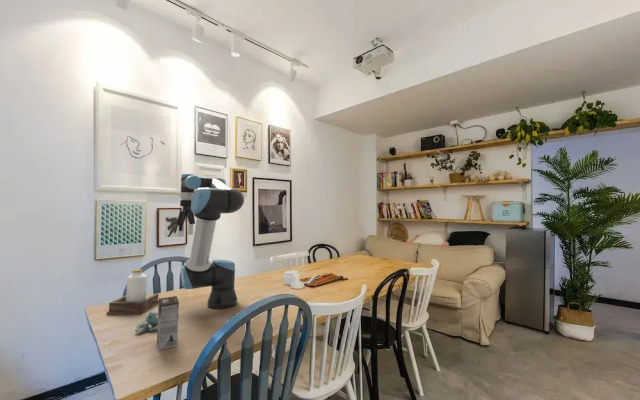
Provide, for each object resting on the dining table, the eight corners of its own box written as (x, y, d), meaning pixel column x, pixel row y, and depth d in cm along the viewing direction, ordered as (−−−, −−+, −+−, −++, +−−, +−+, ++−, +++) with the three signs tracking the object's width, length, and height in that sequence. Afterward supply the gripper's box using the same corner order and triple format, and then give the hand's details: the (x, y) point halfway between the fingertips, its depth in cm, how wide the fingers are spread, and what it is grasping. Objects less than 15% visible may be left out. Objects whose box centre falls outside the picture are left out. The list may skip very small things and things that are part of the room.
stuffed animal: (125, 320, 113) (149, 305, 125) (127, 336, 115) (151, 320, 126) (147, 323, 111) (169, 307, 123) (149, 340, 112) (171, 323, 124)
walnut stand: (127, 303, 150) (128, 293, 150) (158, 303, 151) (159, 293, 151) (106, 314, 134) (107, 303, 134) (141, 314, 135) (142, 303, 135)
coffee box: (156, 340, 108) (158, 298, 109) (175, 336, 112) (176, 295, 112) (157, 350, 100) (159, 304, 101) (177, 346, 104) (179, 302, 104)
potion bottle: (136, 309, 137) (138, 272, 138) (121, 308, 139) (123, 271, 140) (149, 304, 146) (150, 269, 146) (135, 303, 147) (136, 268, 148)
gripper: (189, 200, 180) (187, 234, 180) (171, 198, 156) (169, 237, 155) (201, 200, 181) (199, 234, 180) (185, 199, 156) (183, 237, 155)
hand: (185, 235), depth 167 cm, fingers open, 13 cm apart
